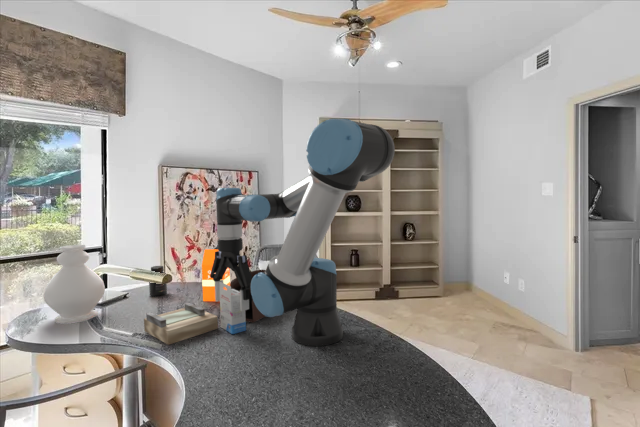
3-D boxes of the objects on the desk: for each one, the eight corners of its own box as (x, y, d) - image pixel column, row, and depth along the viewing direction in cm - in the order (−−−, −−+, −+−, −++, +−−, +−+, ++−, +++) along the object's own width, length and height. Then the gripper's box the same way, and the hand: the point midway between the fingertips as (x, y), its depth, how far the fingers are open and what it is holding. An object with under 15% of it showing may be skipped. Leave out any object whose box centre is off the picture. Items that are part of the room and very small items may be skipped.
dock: (217, 328, 117) (217, 309, 117) (168, 344, 105) (167, 324, 105) (192, 317, 128) (191, 300, 127) (144, 331, 116) (143, 312, 116)
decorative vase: (43, 316, 131) (38, 246, 130) (100, 305, 143) (96, 241, 141) (48, 330, 118) (42, 252, 116) (111, 317, 129) (107, 246, 128)
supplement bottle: (147, 294, 157) (145, 266, 156) (163, 291, 161) (162, 264, 161) (152, 298, 152) (151, 269, 151) (169, 294, 156) (168, 266, 155)
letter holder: (230, 319, 126) (228, 278, 125) (265, 302, 144) (264, 266, 143) (253, 323, 122) (252, 281, 121) (286, 306, 139) (285, 268, 138)
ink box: (247, 330, 115) (245, 283, 114) (232, 335, 112) (230, 286, 111) (234, 323, 121) (233, 278, 121) (220, 327, 118) (218, 281, 117)
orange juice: (209, 295, 154) (208, 247, 153) (230, 295, 154) (229, 247, 152) (202, 301, 146) (200, 251, 145) (224, 301, 146) (223, 250, 144)
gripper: (265, 240, 109) (266, 311, 111) (218, 233, 126) (219, 294, 128) (244, 243, 104) (246, 317, 105) (197, 235, 120) (200, 299, 122)
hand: (231, 305), depth 116 cm, fingers open, 13 cm apart
